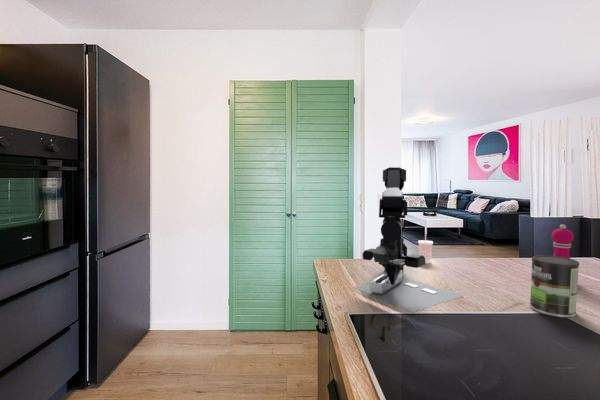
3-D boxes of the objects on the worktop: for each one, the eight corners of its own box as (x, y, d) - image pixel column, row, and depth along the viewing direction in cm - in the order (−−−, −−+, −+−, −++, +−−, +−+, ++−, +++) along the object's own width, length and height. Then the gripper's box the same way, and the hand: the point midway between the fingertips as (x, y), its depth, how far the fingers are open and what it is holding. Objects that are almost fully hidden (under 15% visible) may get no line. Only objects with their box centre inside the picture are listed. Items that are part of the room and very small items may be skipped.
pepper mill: (578, 284, 112) (581, 226, 111) (554, 283, 114) (556, 225, 112) (566, 278, 119) (568, 223, 118) (543, 277, 121) (545, 222, 119)
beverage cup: (432, 260, 146) (433, 229, 145) (433, 264, 140) (433, 231, 139) (417, 259, 148) (418, 228, 147) (417, 263, 142) (418, 230, 141)
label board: (352, 290, 108) (352, 286, 108) (401, 278, 120) (401, 275, 120) (412, 315, 88) (412, 311, 88) (463, 298, 100) (463, 295, 100)
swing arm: (393, 276, 117) (393, 267, 117) (404, 278, 115) (404, 269, 115) (369, 291, 103) (369, 280, 102) (381, 293, 100) (382, 282, 100)
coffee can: (550, 318, 86) (553, 264, 85) (520, 303, 96) (522, 255, 95) (587, 317, 86) (590, 263, 86) (554, 302, 97) (556, 254, 96)
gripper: (352, 235, 104) (353, 285, 105) (409, 241, 91) (409, 297, 92) (371, 231, 112) (371, 277, 113) (426, 236, 99) (426, 288, 100)
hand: (392, 284), depth 104 cm, fingers closed
